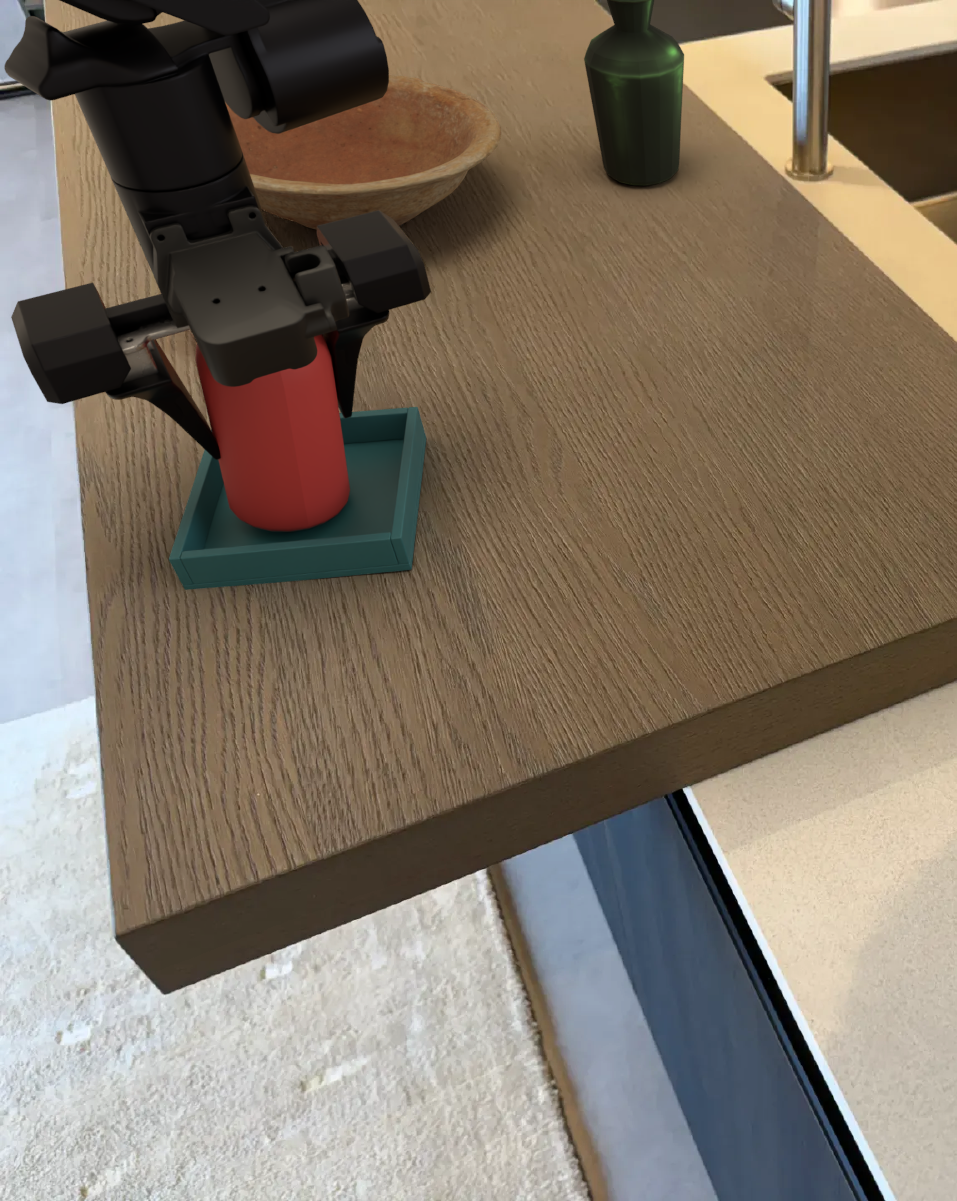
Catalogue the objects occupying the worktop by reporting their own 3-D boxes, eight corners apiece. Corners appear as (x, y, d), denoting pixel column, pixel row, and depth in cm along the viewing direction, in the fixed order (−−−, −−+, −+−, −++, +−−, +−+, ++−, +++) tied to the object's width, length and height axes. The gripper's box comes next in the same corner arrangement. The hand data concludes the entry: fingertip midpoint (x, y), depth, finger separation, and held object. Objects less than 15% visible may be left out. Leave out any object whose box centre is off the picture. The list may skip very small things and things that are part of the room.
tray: (185, 592, 63) (167, 559, 61) (227, 454, 71) (212, 422, 69) (411, 570, 64) (401, 537, 62) (426, 437, 73) (417, 406, 71)
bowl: (549, 250, 90) (536, 152, 84) (232, 316, 82) (193, 212, 76) (466, 130, 104) (450, 39, 98) (189, 176, 96) (154, 80, 90)
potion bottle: (706, 177, 98) (700, -53, 85) (622, 199, 95) (604, -36, 82) (659, 141, 103) (647, -82, 90) (578, 161, 99) (553, -68, 87)
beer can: (304, 552, 64) (270, 367, 56) (203, 515, 65) (155, 328, 57) (374, 489, 68) (352, 311, 60) (279, 456, 69) (245, 276, 61)
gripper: (-28, 299, 44) (135, 583, 55) (435, 184, 51) (496, 456, 62) (-59, 185, 50) (93, 460, 62) (356, 97, 58) (424, 358, 69)
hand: (283, 434), depth 63 cm, fingers closed on beer can, 7 cm apart
